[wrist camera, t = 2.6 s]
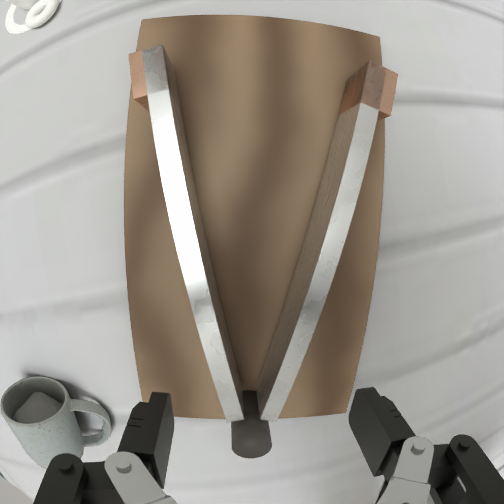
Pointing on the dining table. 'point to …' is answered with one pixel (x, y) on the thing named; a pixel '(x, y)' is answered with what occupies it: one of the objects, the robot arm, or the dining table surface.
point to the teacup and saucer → (30, 14)
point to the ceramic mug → (49, 419)
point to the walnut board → (249, 210)
